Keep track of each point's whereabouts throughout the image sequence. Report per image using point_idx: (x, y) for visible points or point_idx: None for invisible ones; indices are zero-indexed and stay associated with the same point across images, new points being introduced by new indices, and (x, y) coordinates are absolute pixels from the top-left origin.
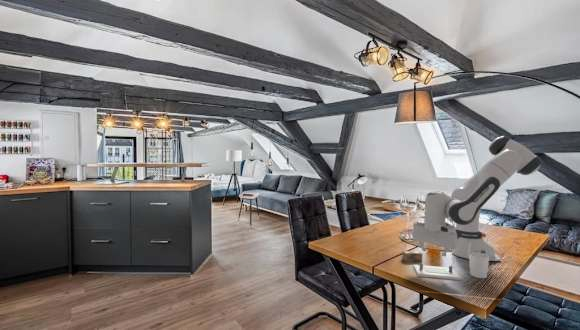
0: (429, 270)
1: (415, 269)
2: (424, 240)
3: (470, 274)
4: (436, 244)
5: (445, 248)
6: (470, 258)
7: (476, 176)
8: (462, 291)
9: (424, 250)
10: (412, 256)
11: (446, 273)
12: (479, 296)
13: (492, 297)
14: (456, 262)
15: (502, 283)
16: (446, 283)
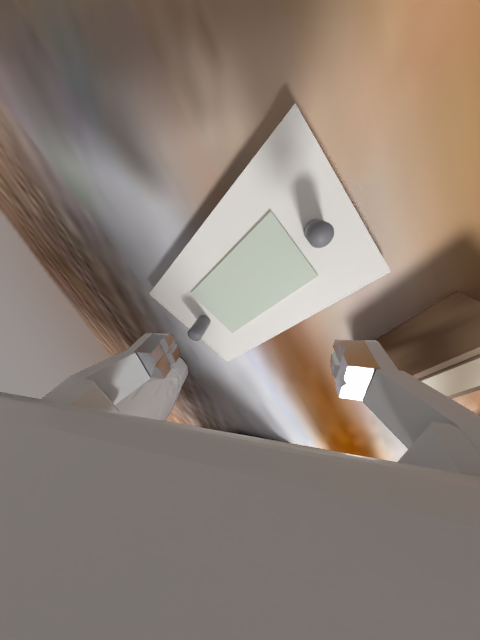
0: (266, 252)
1: (351, 207)
2: (433, 549)
3: (179, 357)
4: (117, 428)
5: (68, 390)
6: (139, 405)
7: None
8: (52, 161)
9: (339, 342)
10: (432, 346)
11: (196, 286)
12: (10, 182)
13: (13, 225)
14: (259, 414)
15: (113, 354)
16: (143, 189)
